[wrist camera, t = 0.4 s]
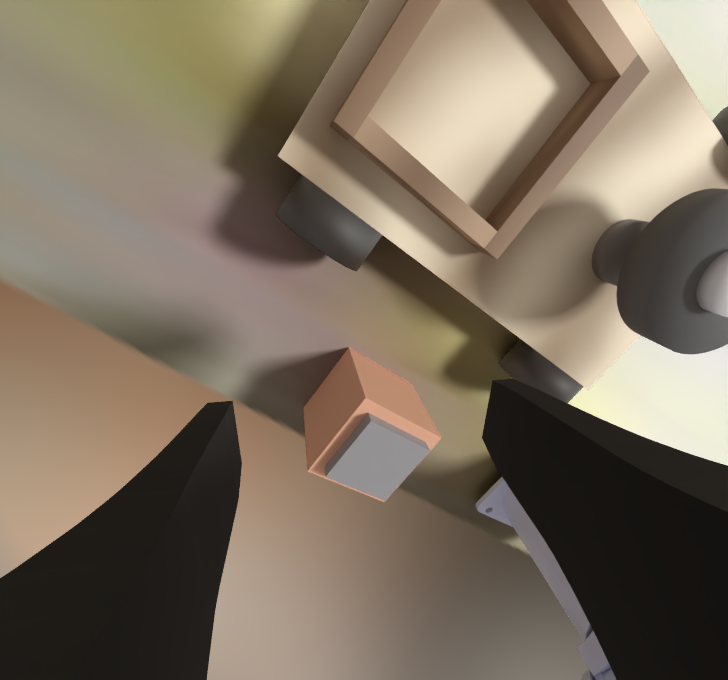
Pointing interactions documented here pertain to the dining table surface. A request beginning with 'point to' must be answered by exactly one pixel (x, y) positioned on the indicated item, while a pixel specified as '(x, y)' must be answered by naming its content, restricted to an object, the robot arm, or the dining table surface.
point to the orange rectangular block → (366, 427)
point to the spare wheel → (680, 275)
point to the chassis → (506, 161)
